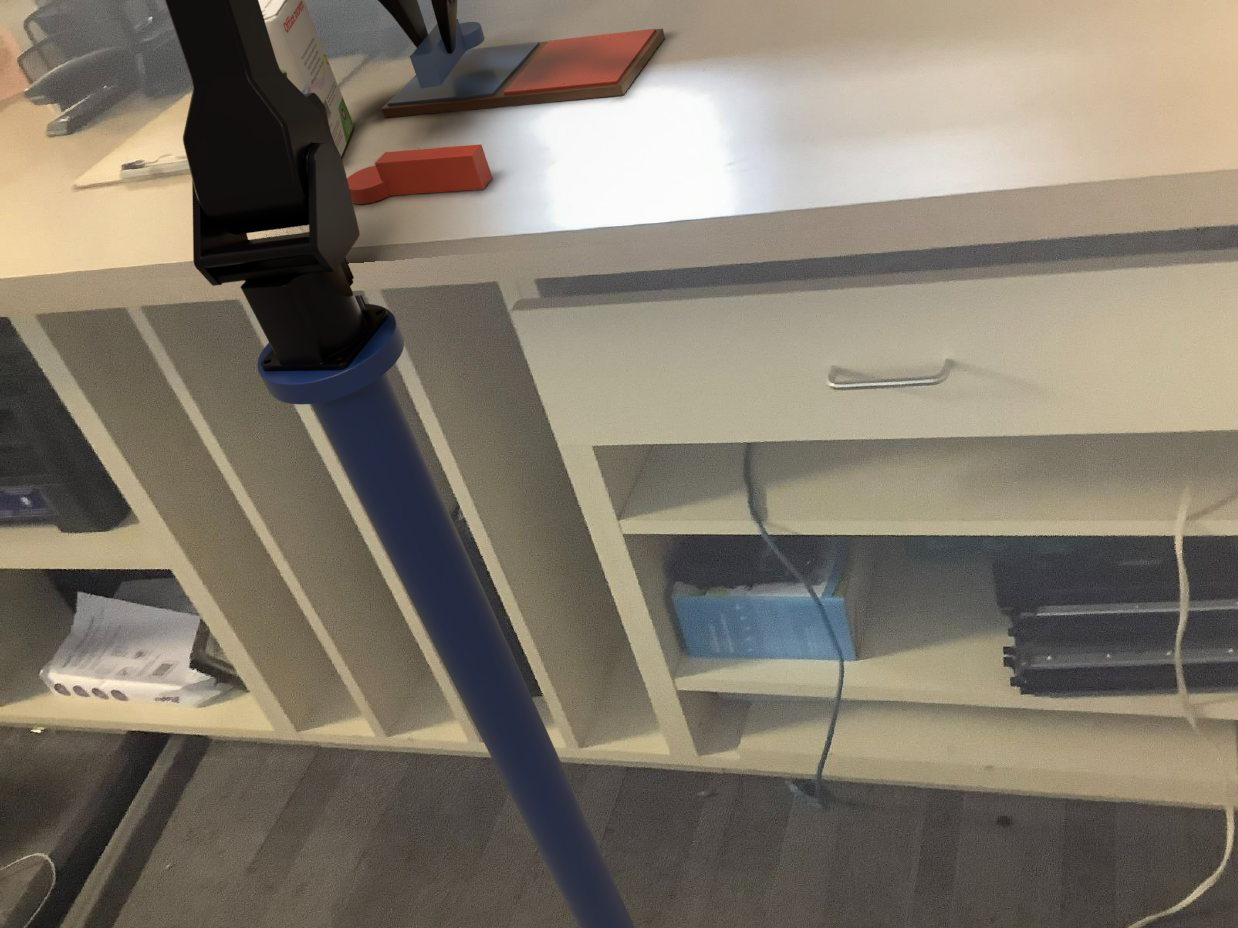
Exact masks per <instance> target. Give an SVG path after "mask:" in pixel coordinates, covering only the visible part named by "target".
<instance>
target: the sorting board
mask: <svg viewBox="0 0 1238 928" xmlns="http://www.w3.org/2000/svg"><path fill="white" fill-rule="evenodd" d="M664 39H665V32H664V28H648V29H640V30H630V31H622V32H621V31H620V32H613V33H605V34H597V35H587V36H578V37H577V36H576V37H569V38H561V39H552V40H548V41H534V42H525V43H524V42H523V43H515V44H506V45H499V46H489V47H480V48H471V49H469V50H466V52H465V53H464V54H463V56H462V57H461V59H460V60H459V61H458V63H457V64H456V65H455V67H454V68H453V69H452V71H451V72H450V74H449V75H448V76H447V78H446V79H445V80H444V82H443V83H442V84H441V85H440V86H433V87H427V88H421V87H420V84H419V82H418V79H417V76H416V75H415V76H414V77H412V78H411V79H410V80H409V82H407V83H406V84H405V85H404V86H403V87H402V88H401V89H400V90H399V91H398V92H397V93H396V94H395V95H394V96H393V97H391V98H390V100H389V101H387V102H386V103H385V104H384V105H383V106H382V107H381V108H380V111H381V113H382V114H381V115H382V116H383V118H395V117H406V116H418V115H427V114H437V113H447V112H458V111H469V110H479V109H480V110H481V109H490V108H491V109H492V108H501V107H502V108H503V107H512V106H523V105H535V104H543V103H544V104H545V103H554V102H555V103H556V102H565V101H575V100H576V101H577V100H586V99H597V98H607V97H618V96H620V97H621V96H624V95H625V94H626V92H627V90H628V89H629V88H630V86H631V85H632V84H633V82H634V81H635V80H636V78H637V77H638V76H639V74H640V73H641V71H642V70H643V69H644V67H645V66H646V64H647V63H648V61H649V60H650V59H651V58H652V56H653V54H654V53H655V52H656V50H657V49H658V48H659V47H660V45H661V44H662V42H663V41H664Z"/></svg>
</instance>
